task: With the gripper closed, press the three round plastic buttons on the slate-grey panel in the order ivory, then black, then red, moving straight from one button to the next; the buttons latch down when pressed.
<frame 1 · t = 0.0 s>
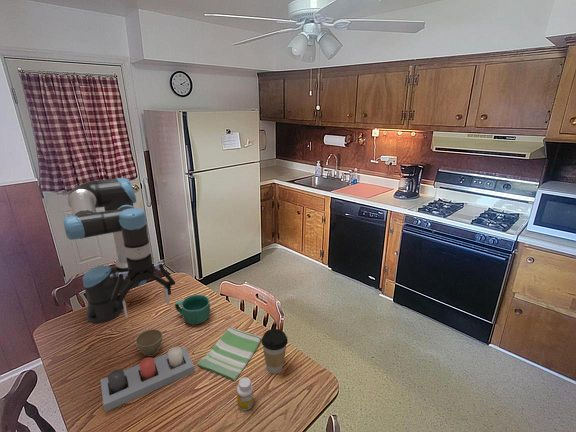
hand: (147, 308, 110), 28 cm above the table, fingers open, 13 cm apart
supplement bottle: (245, 403, 107), on the table
dish towel: (231, 354, 129), on the table
button ivory: (175, 357, 119), point 5 cm above the table, slide at 0.0 cm
button black: (117, 381, 109), point 5 cm above the table, slide at 0.0 cm
mug: (193, 318, 149), on the table
button red: (147, 369, 114), point 5 cm above the table, slide at 0.0 cm
panel: (149, 378, 116), on the table
flower pot: (151, 351, 129), on the table
coffee cup: (274, 367, 122), on the table
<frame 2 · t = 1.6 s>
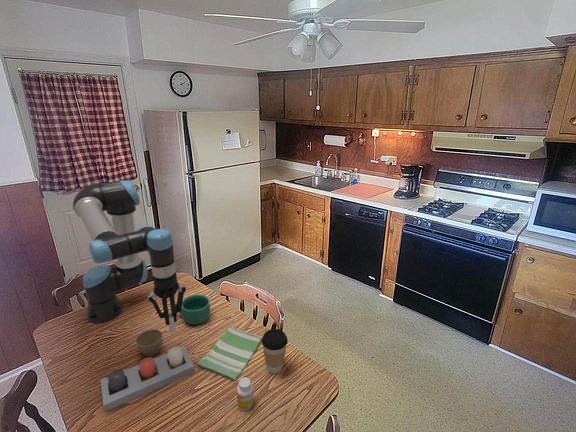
hand: (172, 330, 115), 18 cm above the table, fingers closed
nothing on the table moved.
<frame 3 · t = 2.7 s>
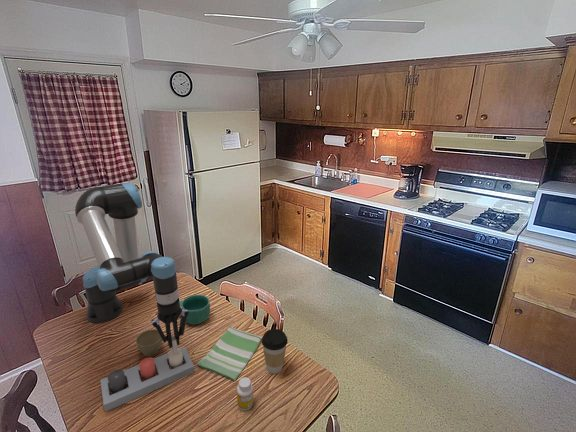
hand: (175, 352, 118), 8 cm above the table, fingers closed
button ivory: (175, 358, 120), point 4 cm above the table, slide at 0.4 cm, touching gripper
everything else where it was.
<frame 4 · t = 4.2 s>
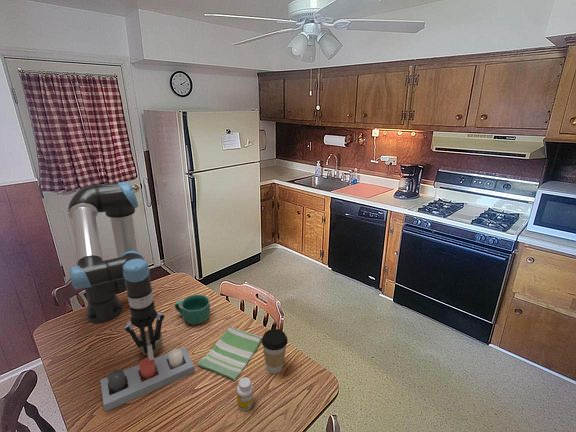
hand: (150, 357, 114), 9 cm above the table, fingers closed
button ivory: (176, 359, 120), point 4 cm above the table, slide at 1.0 cm
everything else where it was.
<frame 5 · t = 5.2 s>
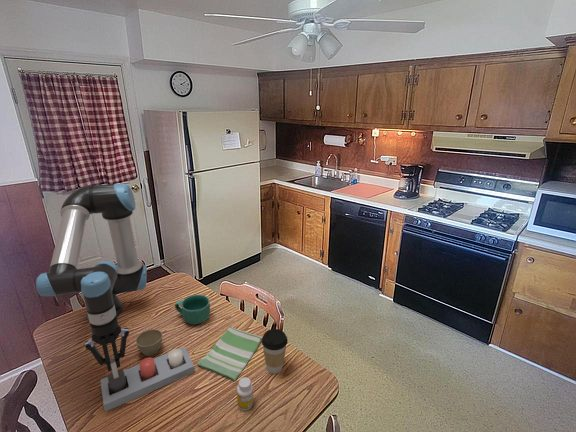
hand: (115, 375, 108), 8 cm above the table, fingers closed
button black: (117, 382, 109), point 4 cm above the table, slide at 0.3 cm, touching gripper
everything else where it was.
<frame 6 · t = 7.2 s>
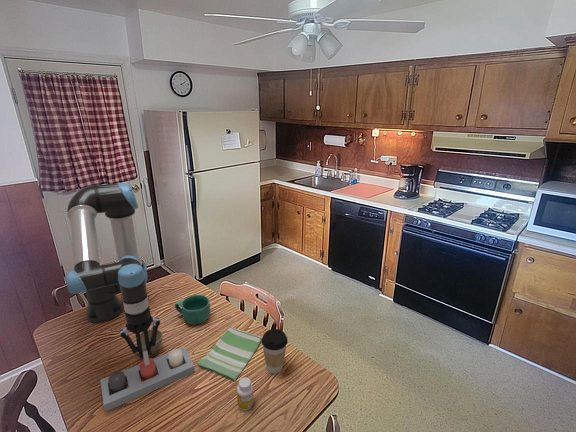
hand: (146, 363, 113), 8 cm above the table, fingers closed
button black: (117, 383, 109), point 4 cm above the table, slide at 1.0 cm
button red: (148, 369, 114), point 4 cm above the table, slide at 0.3 cm, touching gripper
everything else where it was.
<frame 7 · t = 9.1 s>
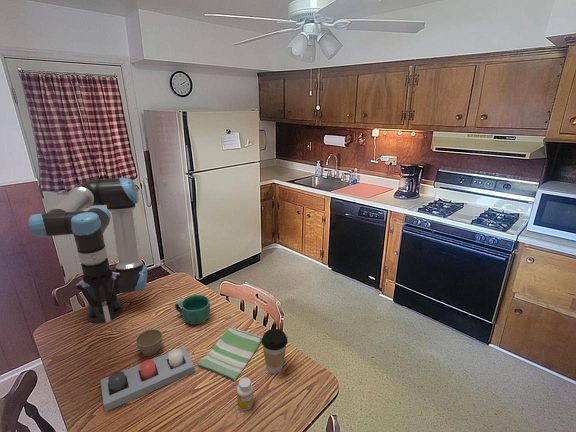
hand: (107, 319, 109), 25 cm above the table, fingers closed
button red: (148, 371, 115), point 4 cm above the table, slide at 1.0 cm
everything else where it was.
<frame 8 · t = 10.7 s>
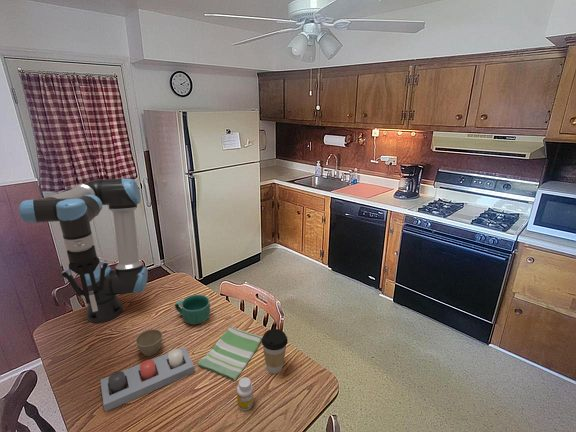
hand: (95, 309, 107), 29 cm above the table, fingers closed
nothing on the table moved.
at the end: button ivory slide at 1.0 cm; button black slide at 1.0 cm; button red slide at 1.0 cm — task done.
